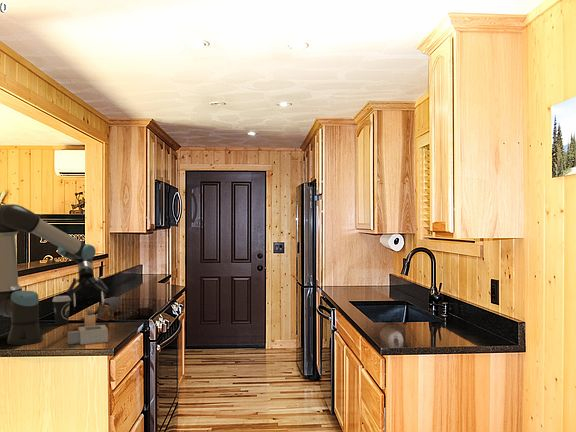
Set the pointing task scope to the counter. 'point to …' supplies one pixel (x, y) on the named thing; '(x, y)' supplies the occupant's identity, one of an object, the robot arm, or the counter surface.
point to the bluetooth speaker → (112, 303)
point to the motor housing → (88, 335)
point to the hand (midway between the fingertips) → (89, 304)
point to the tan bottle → (89, 318)
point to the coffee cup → (61, 309)
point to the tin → (105, 312)
